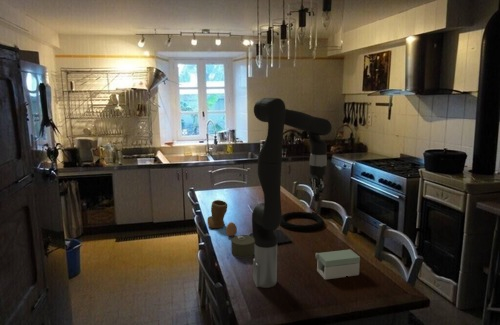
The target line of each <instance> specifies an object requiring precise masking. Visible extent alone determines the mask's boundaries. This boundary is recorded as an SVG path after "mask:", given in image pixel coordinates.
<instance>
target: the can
mask: <svg viewBox="0 0 500 325" xmlns="http://www.w3.org/2000/svg"><path fill="white" fill-rule="evenodd" d="M230 239H231V240H230V242H231V243H230V245H231V255H232V256H233V255H234V256H233V257H236V258H240V257H241V258H242V259H244V258H245V259H246V258H251V257H252V256H253V257H254V256H255V240H254V237H253V235H247V234H239V235H234V236H232V237H231V238H230ZM241 258H240V259H241Z"/></svg>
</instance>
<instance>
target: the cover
mask: <svg viewBox="0 0 500 325" xmlns="http://www.w3.org/2000/svg"><path fill="white" fill-rule="evenodd" d="M314 259H316V260H317V259H318V260H319V261H320V262H321V263H322V264H323V265H324V266H325V267H328V266H336V265H344V264H352V263H360V264H361V257H360V256H359V255H358V254H357V253H356V252H354V251H353V250H352V249H349V248H348V249H342V250H334V251H333V250H332V251H325V252H315V258H314Z"/></svg>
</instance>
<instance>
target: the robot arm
mask: <svg viewBox="0 0 500 325" xmlns="http://www.w3.org/2000/svg"><path fill="white" fill-rule="evenodd" d="M253 114H254V116H255V118H256V119H257V120H258V121H259V122H262V123H267V135H266V138H265V141H264V143H263V145H262V147H261V149H260V151H259V153H258V156H257V176H258V180H259V183H260V186H261V190H262V192H263V198H264V199H263V200H264V201H263V202H264V203H263V202H261V203H258V204H257V205H256V206H255V207H254V208H253V211H252V215H251V227H252V230H251V231H252V237H254V240H255V254H254V258H253V259H252V281H253V282H254V285H255V286H256V288H264V289H268V288H269V289H270V288H273V287H274V286H276V284H277V282H278V281H277V278H278V274H277V272H278V237H277V235H276V233H275V231H276V230H278V228H279V227H280V226H281V225H280V223H281V218H282V215H283V213H282V212H283V211H282V201H281V200H282V198H281V189H282V188H281V184H282V183H281V179H282V178H281V177H282V154H283V153H282V150H283V137H284V129H285V126H288V127H292V128H295V129H297V130H300V131H304V132H307V135H308V139H309V143H310V151H309V152H310V154H309V155H310V156H309V166H308V168H309V172H308V173H309V175H311V178H309V184H310V188H311V191H312V192H313V201H314V202H315V203H316V202H320V200H321V199H320V197H321V194H323V193H324V190H325V188H326V186H327V185H326V183H324V176H326V175H327V161H328V160H327V159H328V157H327V154H328V153H327V150H328V146H327V142H326V141H325V140H323V139H321V137H320V136H322V137H323V136H327V135H329V134H330V133H331V131H332V129H333V126H332V123H331V122H330V121H329V120H328V119H325V118H322V117H317V116H314V115H313V116H312V115H310V114H308V113H305V112H302V111H298V110H293V109H288V108H287V107H286V104H285V102H284V100H283V99H281V98H279V97H278V98H277V97H263V98H260V99H258V100H257V101H256V102H255V104H254V107H253Z"/></svg>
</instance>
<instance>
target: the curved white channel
mask: <svg viewBox="0 0 500 325" xmlns="http://www.w3.org/2000/svg"><path fill="white" fill-rule="evenodd" d="M316 262H317V263H316V264H317V266H316V271H317V272H318V274H320V276H321V277H322V278H323V279H324V280H331V279H339V278H340V279H341V278H347V277H346V276H348V277H353V276H354V277H355V276H359V275H360V264H361V262H360V263H352V264H344V265H336V266H328V267H325V266H324V265H323V264H322V263H321V262H320V261H319V260H318V259H316Z"/></svg>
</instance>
